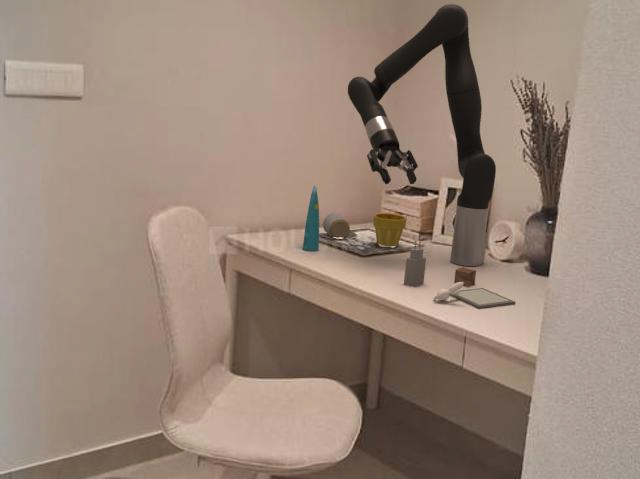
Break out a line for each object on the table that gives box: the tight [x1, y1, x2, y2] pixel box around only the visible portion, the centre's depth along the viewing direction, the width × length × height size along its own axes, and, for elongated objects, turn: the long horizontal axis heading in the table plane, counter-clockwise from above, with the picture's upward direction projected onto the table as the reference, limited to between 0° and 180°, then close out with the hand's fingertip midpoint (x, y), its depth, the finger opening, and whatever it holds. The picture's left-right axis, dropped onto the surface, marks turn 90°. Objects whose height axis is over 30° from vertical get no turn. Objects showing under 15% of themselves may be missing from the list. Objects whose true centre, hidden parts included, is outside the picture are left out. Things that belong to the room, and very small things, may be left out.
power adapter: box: [403, 239, 427, 288], centre depth 187 cm, size 3×5×12 cm, turn 134°
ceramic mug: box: [322, 212, 357, 238], centre depth 235 cm, size 11×8×8 cm
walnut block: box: [453, 266, 477, 288], centre depth 192 cm, size 4×4×4 cm
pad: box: [449, 287, 516, 310], centre depth 179 cm, size 12×12×1 cm
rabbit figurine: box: [432, 282, 464, 303], centre depth 175 cm, size 6×4×8 cm
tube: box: [302, 185, 320, 252], centre depth 215 cm, size 7×5×19 cm, turn 13°
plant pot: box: [372, 212, 407, 247], centre depth 228 cm, size 10×10×10 cm
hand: (401, 182), depth 196 cm, fingers open, 8 cm apart
